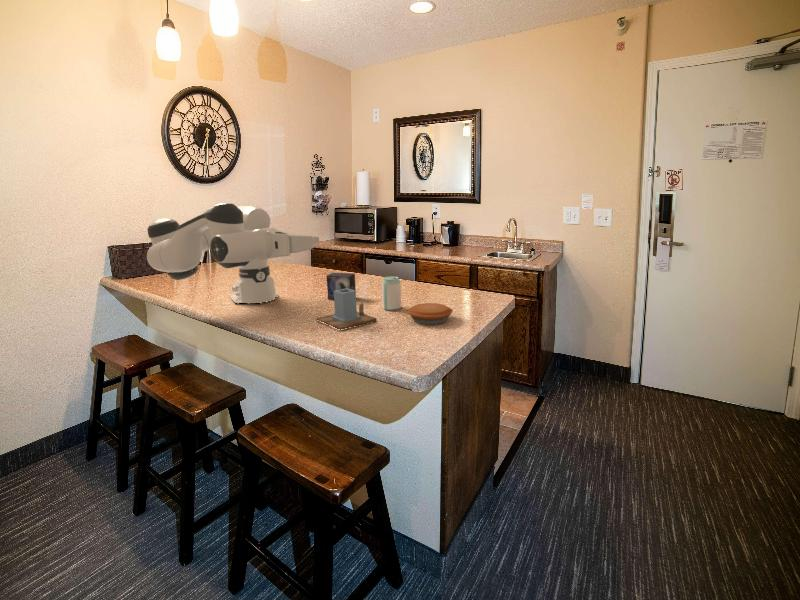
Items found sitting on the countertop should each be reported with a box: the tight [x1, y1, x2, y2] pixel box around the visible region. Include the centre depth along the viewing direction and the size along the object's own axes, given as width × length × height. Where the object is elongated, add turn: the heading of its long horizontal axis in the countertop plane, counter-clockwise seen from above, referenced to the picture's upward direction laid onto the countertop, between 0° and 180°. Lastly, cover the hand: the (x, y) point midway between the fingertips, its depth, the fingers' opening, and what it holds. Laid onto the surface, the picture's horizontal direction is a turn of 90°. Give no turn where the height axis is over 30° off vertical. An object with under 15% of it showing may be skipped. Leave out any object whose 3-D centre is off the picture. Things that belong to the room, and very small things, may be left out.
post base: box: [316, 302, 378, 330], centre depth 156 cm, size 15×15×6 cm
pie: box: [407, 302, 453, 326], centre depth 156 cm, size 16×16×5 cm
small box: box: [326, 272, 357, 300], centre depth 188 cm, size 11×6×10 cm, turn 73°
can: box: [381, 275, 402, 311], centre depth 171 cm, size 7×7×12 cm
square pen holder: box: [331, 288, 361, 323], centre depth 155 cm, size 7×7×10 cm
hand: (309, 238), depth 142 cm, fingers open, 8 cm apart
